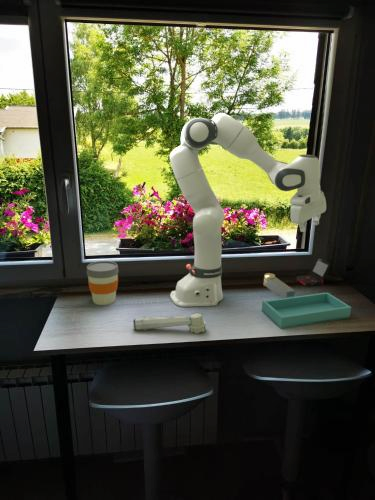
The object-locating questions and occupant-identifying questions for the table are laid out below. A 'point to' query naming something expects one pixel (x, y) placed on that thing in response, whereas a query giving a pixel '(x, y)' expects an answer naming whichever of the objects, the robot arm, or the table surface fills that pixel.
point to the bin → (305, 310)
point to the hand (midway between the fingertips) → (309, 228)
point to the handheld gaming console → (315, 273)
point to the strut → (278, 286)
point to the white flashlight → (171, 322)
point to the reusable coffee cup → (103, 281)
